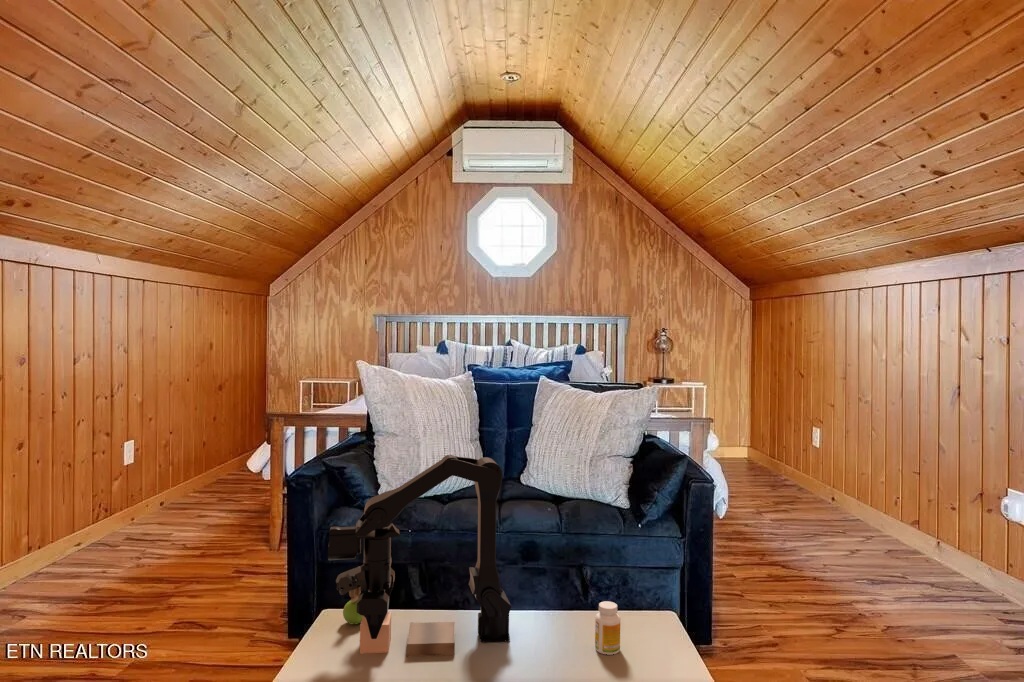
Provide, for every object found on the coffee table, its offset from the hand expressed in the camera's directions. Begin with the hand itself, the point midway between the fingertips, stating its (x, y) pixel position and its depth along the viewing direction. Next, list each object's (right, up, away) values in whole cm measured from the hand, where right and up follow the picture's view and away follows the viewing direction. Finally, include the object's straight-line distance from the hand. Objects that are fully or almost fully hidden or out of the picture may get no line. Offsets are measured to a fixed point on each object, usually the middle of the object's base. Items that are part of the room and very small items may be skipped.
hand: (376, 628), depth 139 cm
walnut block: (+12, -4, +1) cm, 13 cm away
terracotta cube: (0, -4, 0) cm, 4 cm away
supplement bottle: (+50, -5, 0) cm, 50 cm away
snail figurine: (-7, -4, +11) cm, 14 cm away
